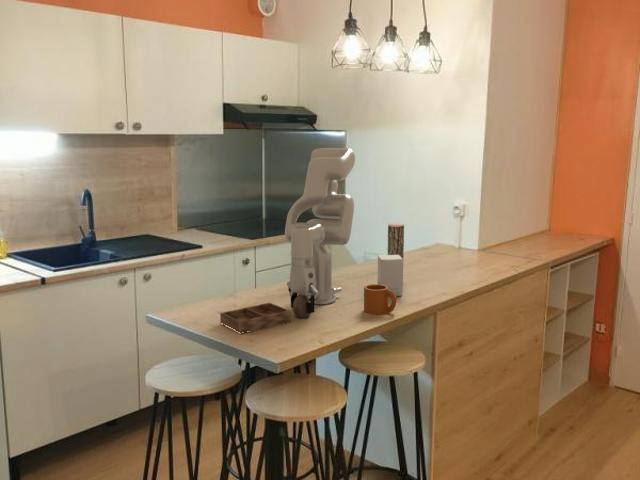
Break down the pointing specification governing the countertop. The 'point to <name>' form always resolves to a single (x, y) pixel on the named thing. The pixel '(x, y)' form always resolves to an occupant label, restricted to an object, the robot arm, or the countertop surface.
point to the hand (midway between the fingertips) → (302, 309)
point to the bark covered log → (396, 239)
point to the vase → (300, 306)
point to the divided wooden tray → (255, 317)
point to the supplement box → (391, 272)
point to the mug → (378, 299)
